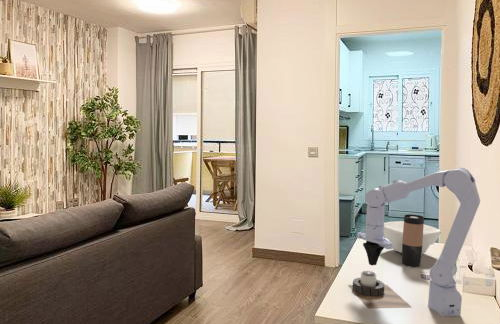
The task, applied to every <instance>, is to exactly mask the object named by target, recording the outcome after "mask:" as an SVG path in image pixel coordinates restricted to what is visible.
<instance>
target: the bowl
mask: <svg viewBox="0 0 500 324" xmlns="http://www.w3.org/2000/svg"><path fill="white" fill-rule="evenodd" d="M403 227H404V220H402V221H400V220H399V221H386V222H384V233H383V237H385V239H386V240H387V241H389V242H391V243H393V244H392V249H391V250H394V251H396V252H398V253H401V254H402V240H403ZM441 234H442V231H441V229H438V228H437V227H434V226H430V225H429V224H428V225H427V224H424V227H423V243H422V254H425V253H426V252H427V251H428V249H429V248H430V246H431V245H434V244H435V242H436V241H437V239H438V238H439V237H440V235H441ZM422 254H421V255H422Z"/></svg>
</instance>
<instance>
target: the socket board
mask: <svg viewBox="0 0 500 324" xmlns="http://www.w3.org/2000/svg"><path fill="white" fill-rule="evenodd" d="M360 281H361V276H360V277H356V278H354V279H353V281H352V284H348V285H347V286H348V288H349V289H351V291H352V292H353V293H354V294H355V295H356V297H357V298H358V299H359V300H360V301H361V303H362V304H364V305H365V307H366V308H367V309H398V308H399V309H400V308H404V309H405V308H409V309H410V308H412V306H411V305H410V304H409V303H407V301H406V300H404V299H403V298H402V297H401V296H400V295H399V294H398V293H397V292H395V291H394V290H393V288H391V287H390V286H389V285H388V284H385V283H384V282H383V281H381V280H379V279H377V278H376V287H368V286H363V285H361V284H360Z"/></svg>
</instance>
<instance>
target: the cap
mask: <svg viewBox="0 0 500 324" xmlns="http://www.w3.org/2000/svg"><path fill="white" fill-rule="evenodd" d="M360 277H361V281H360V284H361V285H363V286H368V287H376V279H377V273H375V272H374V271H372V270H371V271H370V270H363V271H361V272H360Z"/></svg>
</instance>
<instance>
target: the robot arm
mask: <svg viewBox="0 0 500 324" xmlns="http://www.w3.org/2000/svg"><path fill="white" fill-rule="evenodd" d="M431 186H432V187H433V186H437V187H440V188H444V187H446V188H447V189H448V190H449V191H450V192H452V193H453V194H454V195H455V197H456V199H457V201H459V203H460V204H459V207H458V210H457V213H456V215H455V217H454V220H453V223H452V225H451V227H450V230H449V233H448V234H447V235H448V236H447V238H446V240H445V243H444V245H443V248H442V250H441V253H440V255H439V257H438V259H437V260H436V262H435V263H434V264H433V266H431V268H430V270H429V277H430V278H429V285H428V286H429V288H428V300H427V301H428V303H427V306H428V308H429V309H431V310H433V311H435V312H436V313H437V314H438V315H440V316H441V317H457V316H458V317H461V315H462V302H463V301H462V299H463V298H462V297H463V296H462V295H461V293H460V292H459V291H458V289H457V282H456V280H455V278H454V276H455V275H456V273H457V271H458V267H457V262H458V259H459V255H460V253H461V251H462V248H463V246H464V243H465V241H466V238H467V236H468V233H469V231H470V229H471V226H472V223H473V221H474V219H475V216H476V213H477V212H478V211H477V210H478V209H479V206H480V204H481V199H480V198H481V197H480V194H479V192H478V188H477V184H476V179H475V178H474V176H473V175H472V173H471V172H470V171H469V170H468V169H466V168H463V167H455V168H453V169H446V170H440V171H436V172H433V173H430V174H428V175H424V176H422V177H419V178H416V179H413V180H411V181H408V182H406V181H403V180H402V179H401V180H398V179H394V180H392V181H391V183H388V184H385V185H383V184H380V185H378V187H375V188H372V189H371V190H368V191H367V192H366V193H365V196H364V199H365V202H366V214H365V215H366V217H365V232H363V231H359V232H356V234H357V236H356V238H357V239H359V240H360V239H361V240H363V241H366V242H363V244H362V247H363V248H364V249H365V252H366V256H367V260H368V265H370V266H376V265H377V263H378V261H379V258H380V256H381V253H382V252H383V250H384V249H386V250H393V249H392V244H393V243H391V242H389V240H388V239H386V238H385V236H384V223H385V213H386V211H385V209H386V203H387V204H389V203H392V202H396V201H400V200H402V199H406V198H408V197H409V194H410V193H411V192H414V191H417V190H422V189H426V188H428V187H431Z"/></svg>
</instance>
